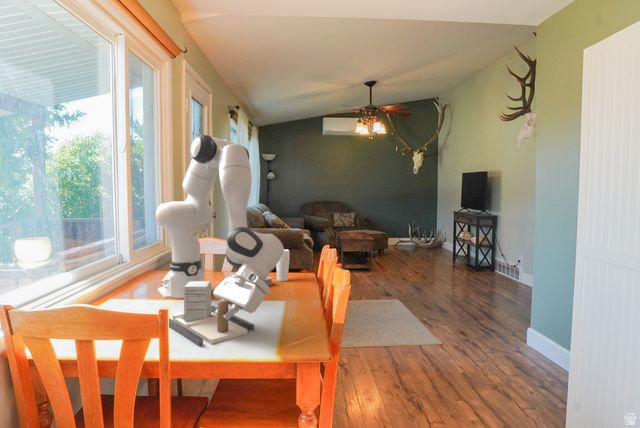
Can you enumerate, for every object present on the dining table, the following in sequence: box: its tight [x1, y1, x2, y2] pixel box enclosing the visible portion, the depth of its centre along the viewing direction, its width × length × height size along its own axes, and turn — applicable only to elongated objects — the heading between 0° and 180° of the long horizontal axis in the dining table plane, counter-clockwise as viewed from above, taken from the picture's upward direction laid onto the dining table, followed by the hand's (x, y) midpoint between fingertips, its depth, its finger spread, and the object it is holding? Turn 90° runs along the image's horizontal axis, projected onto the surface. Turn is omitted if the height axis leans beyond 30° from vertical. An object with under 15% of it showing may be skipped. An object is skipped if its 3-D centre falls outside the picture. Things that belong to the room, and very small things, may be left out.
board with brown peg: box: [172, 300, 248, 345], centre depth 118 cm, size 26×12×10 cm, turn 44°
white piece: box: [275, 248, 290, 282], centre depth 182 cm, size 7×7×15 cm
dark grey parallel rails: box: [168, 305, 255, 347], centre depth 119 cm, size 26×18×2 cm
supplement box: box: [183, 280, 212, 323], centre depth 123 cm, size 7×7×13 cm
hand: (220, 316), depth 111 cm, fingers closed on board with brown peg, 3 cm apart
